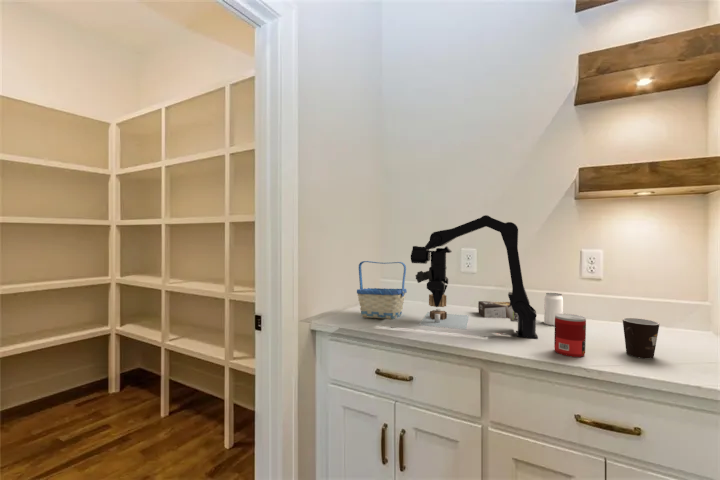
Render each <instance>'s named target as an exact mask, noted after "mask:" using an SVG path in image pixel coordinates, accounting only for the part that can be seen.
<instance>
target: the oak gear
mask: <svg viewBox="0 0 720 480" xmlns="http://www.w3.org/2000/svg"><path fill="white" fill-rule="evenodd" d="M428 306H429V307H435V308H445V307H447V295H446V294H445V293H444V294H443V296H442V298H441V301H440V303H439V306H438V307H436V306H435V303H434V298H433V294H432V293H430V294H428Z"/></svg>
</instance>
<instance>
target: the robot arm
mask: <svg viewBox="0 0 720 480" xmlns="http://www.w3.org/2000/svg"><path fill="white" fill-rule="evenodd" d="M484 228H489V229H491V230H494V231H496V232H499V233H500V235H501V238H502V241H503V243H504V246H505V249H506V254H507V259H508V260H507V261H508V266H509V267H508V268H509V272H510V273H509V274H510V280H511V287H512V288H511V292H510V291H509V292H508V294H507V296H508V299H509V302H510V306H512V309H513V311H514V312H515V313H517V314H518V321H517V330H515V334H516V336H517V337H518V338H519V337H520V338H527V339H528V338H531V339H538V338H539V336H538V334H537V333H536V332H537V331H536V330H537V326H536V325H537V311H536V309H535V308H534V307H533V306H531V304H530V299H529V298H528V294H527V291H526V289H525V286H524V281H523V280H524V279H523V276H522V269H521V261H520V254H519V249H518V246H519V244H518V243H519V228H518V226H517V224H515V223H514V222H511V221H510V222H509V221H506V222H503V221H501V220H499V219H495V218H494V217H491V216H489V215H487V214H486V215H482V216H481V217H479V218H476V219H474V220H471V221H468V222H465V223H463V224H460V225H458V226H456V227H453V228H448V229H441V230H437V231H433V232H432V233H431V234H430V237H429V241H428V242H427V243H426V244H425V246H418V245H413V246H412V248H411V249H412V250H411V254H410V262H411V264H423V265H424V264H425V265H426V264H428V262H430V267H428V270H426V271H422V270H421V271H420V270H419V271H417V272H416V273H417V274H415V280H416V281H417V283H418V284H420V283H422V282H424V281H427V280H428V281H427V283H426V289H427V290H428V291H429V292H430V293H431V294H433V298H434V303H435V306H436V307H435V308H439V307H438V306H439V303H440V301H441V298H442V296H443V294H444V295H445V293H446V291H447V288H448V285H449V278H448V277H447V254H450V253H452V250H451V249H450V248H449V247H448V246H445V245H447V244H449V243H451V242H453V240H455V239H457V238H458V237H459V238H460V237H462V236H465V235H467V234H470V233H473V232H475V231H478V230H481V229H484ZM444 246H445V247H444ZM441 247H442V248H441ZM443 247H444V248H443ZM434 249H435V250H434Z"/></svg>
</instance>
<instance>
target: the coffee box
mask: <svg viewBox="0 0 720 480" xmlns="http://www.w3.org/2000/svg"><path fill="white" fill-rule="evenodd" d="M477 308H478V309H477V311H478V314H479V315H480V316H482V317H483V318H488V319H489V318H492V319H499V318H500V319H509V320H510V321H513V322H515V321H516V322H518V314H517V313H515V312H514V311H513V309H512V306H510V301H493V300H492V301H491V300H490V301H487V300H486V301H485V300H482V301H481V300H479V301H478V307H477Z"/></svg>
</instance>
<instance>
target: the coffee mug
mask: <svg viewBox="0 0 720 480" xmlns="http://www.w3.org/2000/svg"><path fill="white" fill-rule="evenodd" d="M622 325H623V334H624V344H625V353H626V354H627V355H629V356H630V357H634V358H638V357H640V358H639V359H645V358H652V359H654V358H653V357H655V350H656V346H657V340H658V335H659V330H660V329H659V328H660V323H659V322H658V321H654V320H652V319H645V318H638V317H623V318H622Z"/></svg>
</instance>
